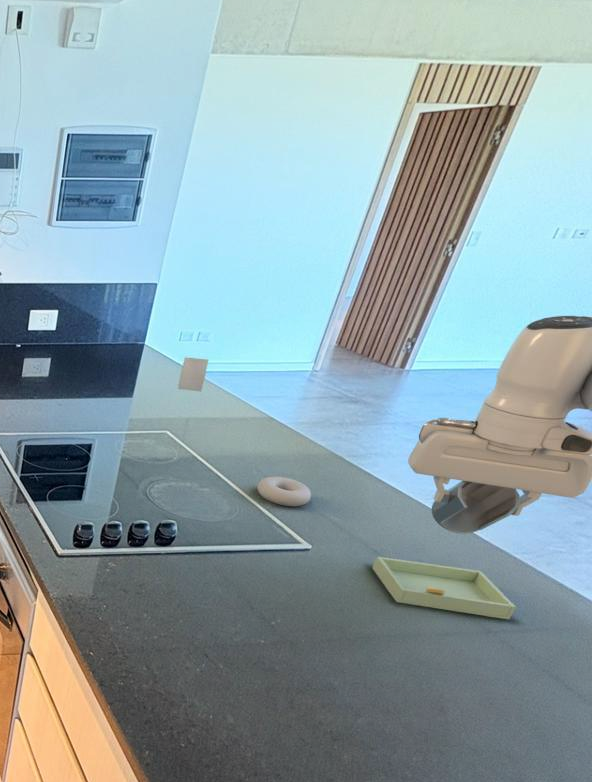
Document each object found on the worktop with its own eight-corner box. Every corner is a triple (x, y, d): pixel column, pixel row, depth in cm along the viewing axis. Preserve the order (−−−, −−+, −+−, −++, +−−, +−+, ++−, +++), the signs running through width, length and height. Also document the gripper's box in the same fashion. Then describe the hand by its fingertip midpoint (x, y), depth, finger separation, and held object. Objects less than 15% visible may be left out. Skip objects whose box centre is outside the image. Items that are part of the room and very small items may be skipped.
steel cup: (433, 488, 105) (460, 469, 97) (488, 497, 102) (520, 479, 94) (429, 528, 103) (456, 512, 95) (485, 538, 100) (517, 522, 92)
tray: (474, 582, 107) (480, 570, 105) (509, 619, 98) (516, 607, 97) (371, 567, 111) (377, 556, 109) (396, 602, 102) (402, 589, 101)
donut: (315, 499, 134) (266, 482, 140) (320, 485, 132) (270, 469, 139) (298, 514, 128) (247, 496, 135) (303, 500, 126) (252, 482, 133)
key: (424, 588, 100) (424, 591, 100) (443, 590, 98) (442, 593, 98) (431, 591, 103) (431, 594, 103) (449, 593, 102) (448, 596, 101)
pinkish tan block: (201, 391, 198) (208, 361, 193) (178, 388, 200) (185, 358, 196) (200, 388, 201) (208, 358, 196) (178, 385, 203) (184, 356, 199)
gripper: (432, 422, 93) (398, 501, 100) (619, 446, 85) (569, 531, 91) (422, 409, 98) (390, 485, 105) (597, 430, 90) (551, 512, 96)
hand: (474, 507), depth 98 cm, fingers closed on steel cup, 7 cm apart
